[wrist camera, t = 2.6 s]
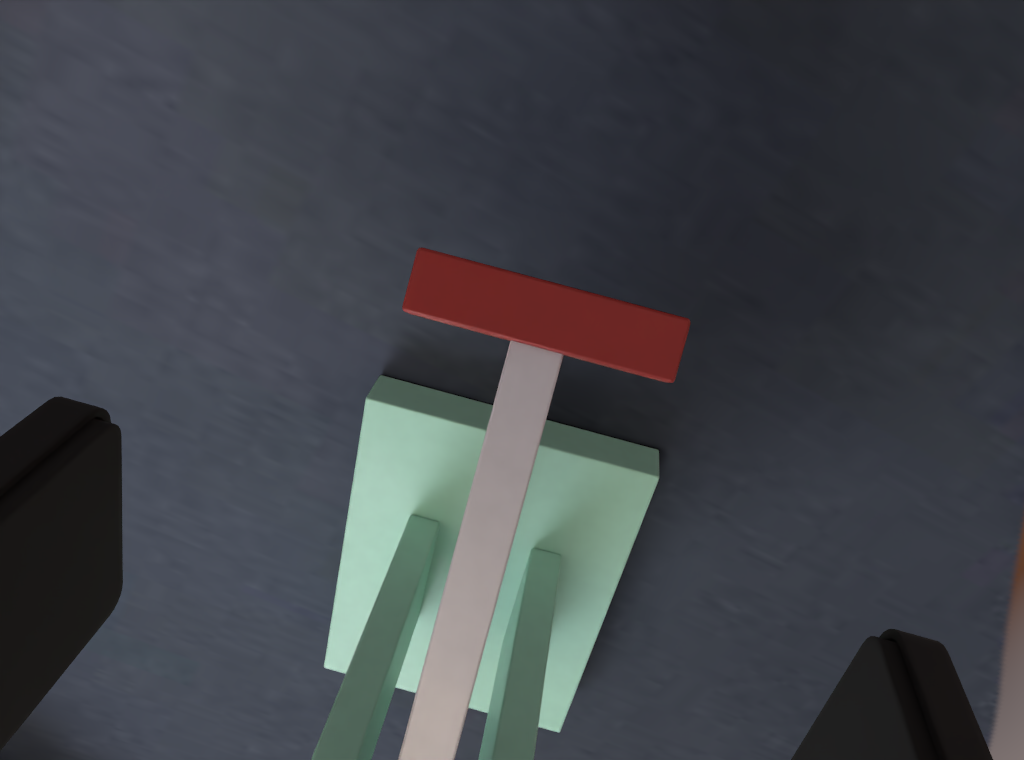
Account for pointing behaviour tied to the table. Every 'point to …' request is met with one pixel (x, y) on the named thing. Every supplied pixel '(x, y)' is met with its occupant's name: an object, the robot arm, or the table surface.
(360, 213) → the table surface
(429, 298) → the lever
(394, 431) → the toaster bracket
